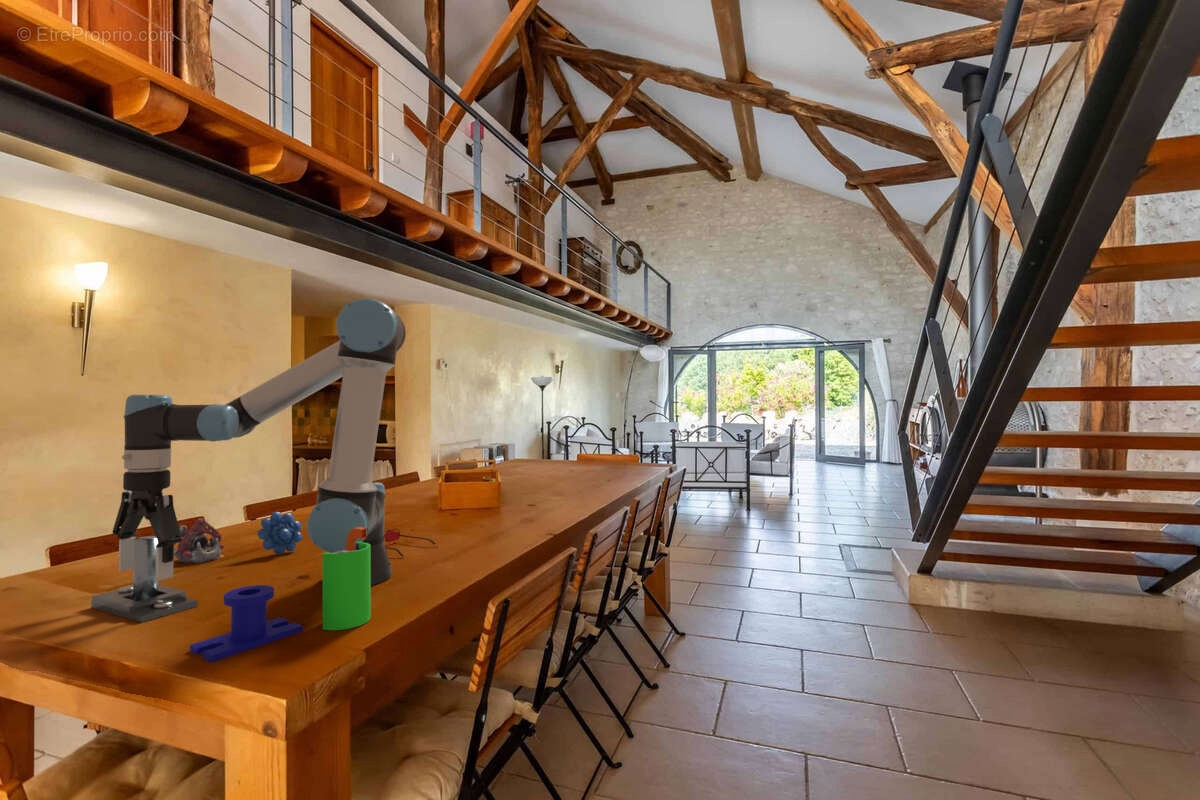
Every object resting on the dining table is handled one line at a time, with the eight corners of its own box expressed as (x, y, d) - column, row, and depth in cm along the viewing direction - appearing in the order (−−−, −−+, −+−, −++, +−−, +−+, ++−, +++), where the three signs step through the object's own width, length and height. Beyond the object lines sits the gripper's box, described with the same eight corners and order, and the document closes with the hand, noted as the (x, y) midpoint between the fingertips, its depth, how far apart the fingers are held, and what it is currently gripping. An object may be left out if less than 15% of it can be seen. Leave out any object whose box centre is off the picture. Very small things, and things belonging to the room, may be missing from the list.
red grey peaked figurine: (196, 558, 142) (177, 518, 145) (172, 581, 145) (154, 541, 148) (238, 548, 153) (220, 511, 156) (215, 569, 156) (197, 532, 158)
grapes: (263, 561, 149) (264, 516, 149) (253, 556, 153) (254, 512, 153) (308, 552, 158) (309, 510, 158) (298, 548, 162) (299, 507, 162)
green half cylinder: (335, 612, 112) (336, 522, 113) (376, 612, 113) (378, 522, 113) (316, 631, 103) (317, 532, 103) (361, 629, 104) (362, 532, 104)
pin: (161, 605, 116) (163, 537, 116) (138, 611, 112) (141, 541, 112) (150, 602, 117) (152, 535, 118) (128, 608, 114) (130, 538, 114)
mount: (211, 663, 90) (212, 608, 90) (189, 652, 94) (190, 600, 94) (302, 632, 103) (303, 584, 103) (280, 623, 107) (280, 577, 107)
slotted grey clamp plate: (197, 606, 115) (197, 591, 115) (140, 622, 106) (141, 606, 106) (148, 593, 123) (148, 579, 123) (91, 607, 114) (91, 592, 114)
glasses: (397, 542, 172) (397, 526, 172) (439, 549, 165) (439, 531, 165) (360, 553, 159) (360, 535, 160) (404, 560, 152) (404, 541, 152)
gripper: (93, 468, 117) (90, 570, 117) (161, 475, 106) (159, 587, 106) (135, 465, 124) (133, 561, 123) (203, 471, 113) (201, 577, 113)
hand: (145, 574), depth 115 cm, fingers open, 13 cm apart
